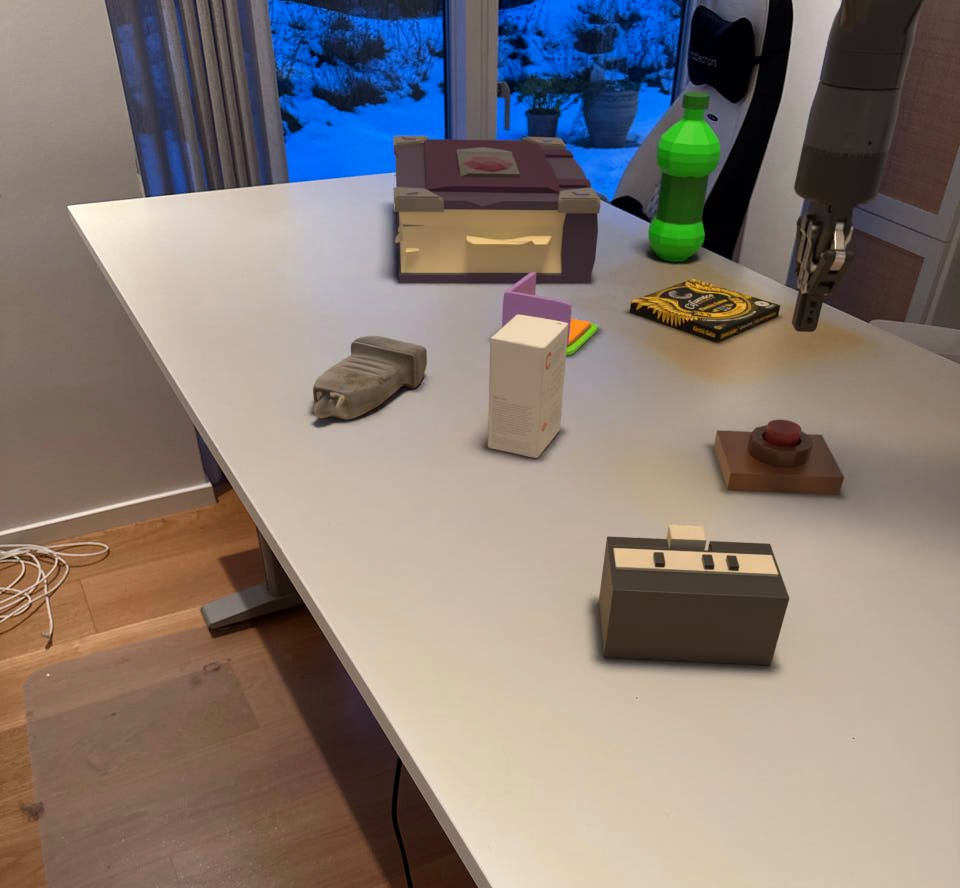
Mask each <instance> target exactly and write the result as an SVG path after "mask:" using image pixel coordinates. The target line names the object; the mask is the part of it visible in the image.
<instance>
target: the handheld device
mask: <svg viewBox="0 0 960 888" xmlns="http://www.w3.org/2000/svg"><path fill="white" fill-rule="evenodd" d="M427 351H428V350H427V348H426V347H425V346H424V345H420V344H416V343H411V342H406V341H402V340H398V339H394V338H389V337H386V336H379V335H367V336H362V337H357V338H356V339H354V340H353V341H352V342H351V344H350V355H348V356H346V357H345V358H343V359H342V360H340V361H339V362H337V363H335V364H334V365H332V366H330V368H328V369H326V370H324V372H323V373H322V374H320V375H319V376H318V377H317V379H316V380H315V383H314V384H313V388H312V395H313V396H312V397H313V403H314V404H313V405H314V406H313V408H312V411H313V415H315V417H317V418H321V419H326V418H329V417H332V418H336V419H341V420H345V421H347V420H352V419H355V418H357V417H360V416H363V415H364V414H367V413H368V412H370V411H372V410H374V409H375V408H377V407H378V406H380V405H381V404H383V403H384V402H385V401H386V400H387V399H389V398H390V397H391V396H392V395H394V393H396V392H397V391H398V390H399V389H400V388H401V387H406V388H410V389H415V388H417V387H418V386H419V385H420V383H421V382H422V380H423V378H424V375H425V372H426V369H427V366H428V352H427Z"/></svg>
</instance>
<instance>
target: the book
mask: <svg viewBox="0 0 960 888" xmlns="http://www.w3.org/2000/svg"><path fill="white" fill-rule="evenodd" d="M393 155H394V157H395V174H394V177H395V185H396V186H394V187H393V212H394V213H396V222H397V223H396V224H397V225H396V227H397V235H396V236H395V240H394V242H395V244H397V257H398V258H397V265H398V266H397V267H398V268H397V269H398V284H515V283H517V282H518V281H520V280H521V279H522V278H524V277H525V276H527V275H528V274H529V273H531V272H535V273H536V284H591V278H592V272H593V269H594V265H595V262H596V254H597V244H598V233H599V220H598V219H599V218H598V214H600V211H601V198H600V196H599V195H598V194H597V192H596V191H595V189H594V187H592V183H591V180H590V179H589V178H587V176H586V175H585V172H584V170H583V168H582V167H581V165H580V164H579V163H578V162H577V160H576V159H575V158H574V154H573V153H572V152H571V150H569V149H567V145H566V144H565V142H564V140H563V139H562V138H560V137H548V136H547V137H546V136H525V137H521V139H453V138H451V139H450V138H447V139H446V138H442V139H441V138H439V139H438V138H429V136H426V135H395V136H394V137H393Z"/></svg>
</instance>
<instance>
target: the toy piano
mask: <svg viewBox="0 0 960 888" xmlns="http://www.w3.org/2000/svg"><path fill="white" fill-rule="evenodd" d="M708 542H709V543H708V547H707V550H706V549H705V550H686V549H669V545H668V540H667V539H666V538H651V537H633V536H632V537H628V536H611V535H610V536H608V535H607V536H606V540H605V548H604V557H603V565H602V571H601V579H600V587H599V596H598V610H599V621H600V631H601V641H602V653H603V658H608V659H629V660H650V661H669V662H670V661H672V662H692V663H693V662H694V663H696V662H697V663H710V664H711V663H712V664H713V663H715V664H735V665H757V666H771V665H772V662H773V658H774V655H775V652H776V648H777V644H778V641H779V637H780V634H781V630H782V627H783V624H784V619H785V617H786V616H785V615H786V612H787V609H788V605H789V603H790V596H789V593H788V589H787V587H786V584H785V581H784V579H783V576H782V574H781V570H780V568H779V565H778V563H777V559H776V556H775V553H774V551H773V548H772V545H771V543H765V542H764V543H763V542H741V541H719V540H717V541H716V540H710V541H708Z"/></svg>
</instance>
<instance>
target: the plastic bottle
mask: <svg viewBox="0 0 960 888" xmlns="http://www.w3.org/2000/svg"><path fill="white" fill-rule="evenodd" d="M710 97H711V95H710V94H709V93H705V92H695V91H694V92H693V91H692V92H691V91H689V92H683V95H682V100H681V101H682V102H681V108H683V109H684V110H683V117H682V118H681V119H680V120H679V121H677V122H676V123H675V124H673V125H672V126H671V127H669V128H668V129H667V130H666V131H665V132H664V133H662V135H661V136H660V138H659V140H658V143H657V149H656V162H657V166H658V168H659V169H660V171H661V176H660V183H659V192H658V199H657V204H656V205H657V207H656V214H655V216H654V217H653V219H652V220H651V222H650V224H649V227H648V241H649V246H650V247H651V250H652V251H653V252H654V253H655V255H657V257H658V258H659V259H661V260H663V261H666V262H667V261H668V262H673V263H674V262H675V263H676V262H684V261H687V260H688V259H689V258H690V257H692V256H693V255H695V254H696V253H697V252H698V251H699V250H700V249H701V248H702V246H703V244H704V242H705V236H706V233H705V227H704V223H703V214H704V209H705V208H704V207H705V201H706V195H707V189H708V182H709V177H710V175H711V174H712V173H713V172H714V171H715V170H717V168H718V165H719V161H720V158H721V152H722V150H721V145H720V140H719V137H718V136H717V135H716V133H715V132H714V131H713V129H712V128H711V126H709V124H708V123H707V122H706V121H705V119H704V116H705V111H706V110H708V109H709V105H710Z"/></svg>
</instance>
